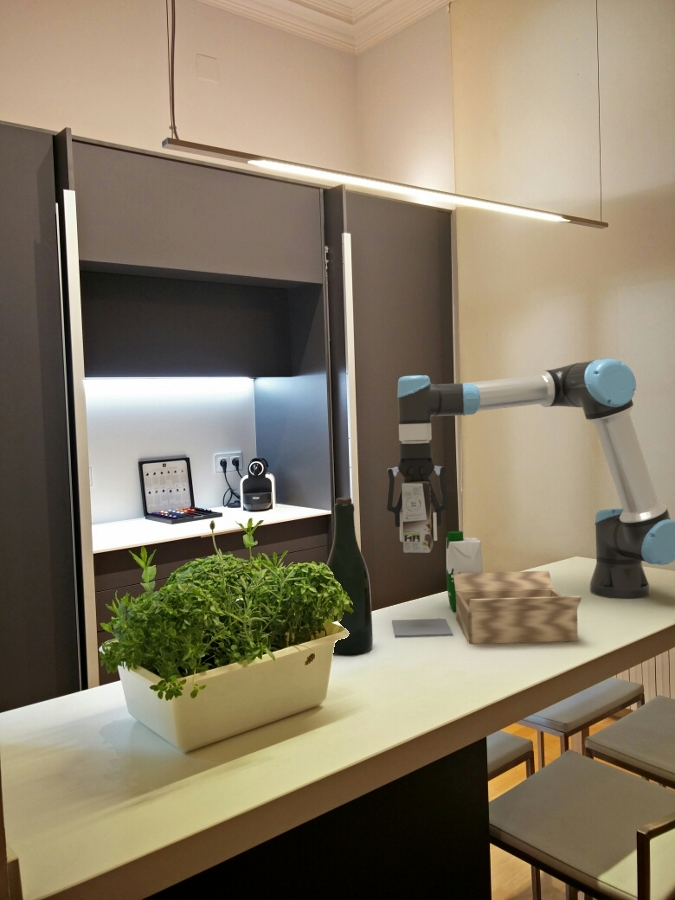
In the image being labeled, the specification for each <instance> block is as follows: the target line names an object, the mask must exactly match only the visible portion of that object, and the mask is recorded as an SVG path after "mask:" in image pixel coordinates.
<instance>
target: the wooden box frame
mask: <svg viewBox="0 0 675 900" xmlns="http://www.w3.org/2000/svg"><path fill="white" fill-rule="evenodd" d="M453 577H454V584H455V591H456V613H455V616H456V618H455V621H456V622H457V624H458V626H459V627H460V630H461V631H462V633H463V635H464V637H465V639H466V641H467V643H468V644H472V645H473V644H501V643H503V644H505V643H534V642H535V643H537V642H539V643H541V642H569V641H570V642H575V641H577V642H578V641H579V637H578V636H579V635H578V633H579V632H578V628H579V627H578V608H579V607H580V603H581V601H582V598H583V596H582V595H564V596H563V595H561V594H560V593H559V592H557V590H556V589H554V586H553V583H552V578H551V574H550V570H533V571H532V570H530V571H529V570H527V571H503V572H502V571H501V572H500V571H497V572H483V573H461V574H453Z"/></svg>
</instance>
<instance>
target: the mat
mask: <svg viewBox="0 0 675 900" xmlns="http://www.w3.org/2000/svg"><path fill="white" fill-rule="evenodd" d="M391 622H392V628H393V634H394V638H420V637H423V638H424V637H453V636H454V634H453V632H452V629H451V627H450V625H449V622H448V621H447V619H446V618H421V619H420V618H419V619H418V618H417V619H413V618H411V619H392V620H391Z"/></svg>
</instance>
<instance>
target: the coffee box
mask: <svg viewBox="0 0 675 900" xmlns="http://www.w3.org/2000/svg"><path fill="white" fill-rule="evenodd" d="M429 480H430V482H426V481H416V482H410V483H404V482H403V481H402V482H401V488H402V507H401V509H402V511H401V512H402V514H403V542H402V543H403V544H402V545H403V547H402V550H403V553H417V554H421V553H423V554H428V553H431V551H432V550H433V548H434V547H433V546H434V540H433V535H432V511H433V503H432V501H431V492H430V483H431V484H432V480H431V479H429Z"/></svg>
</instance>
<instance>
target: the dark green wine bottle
mask: <svg viewBox="0 0 675 900" xmlns="http://www.w3.org/2000/svg"><path fill="white" fill-rule="evenodd" d="M333 506H334V507H333V512H334V513H333V514H334V535H333V536H334V537H333V542H332V546H331V550H330V552H329V556H328V560H327V561H326V565H327V566H328V567H329V568H330V569H331V570H332V572H333V574H334V578H335V579H336V580H337V581H338V582H339V583H340V584H341V585H342V587H343V588H344V590H345V591H346V592H347V593H348V595H349V597H350V599H351V600H352V602H353V606H354V612H353V613H352V614H351V613H348V612H345V613H344V615H343V618H342V620H341V621H340V622H339V623H340V624H341V625H342V626H343V627H344V628H346V629H347V630H348V631H349V633H350V634H349V636H348V637H347V638H345V639H341V640H338V641H337V642H336V643H335V647H334V653H333V654H334V655H341V656H353V655H355V656H356V655H361V654H365V653H367V652H369V651H370V650H371V649H372V648H373V646H374V645H373V643H374V641H373V640H374V639H373V638H374V637H373V636H374V635H373V616H372V615H373V614H372V596H371V595H372V594H371V583H370V574H369V570H368V566H367V564H366V561H365V558H364V555H363V554H362V552H361V548H360V546H359V543H358V539H357V533H356V525H355V524H356V523H355V505H354V503H352V498H351V497H338V498H336V500H335V504H334V505H333Z"/></svg>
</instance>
